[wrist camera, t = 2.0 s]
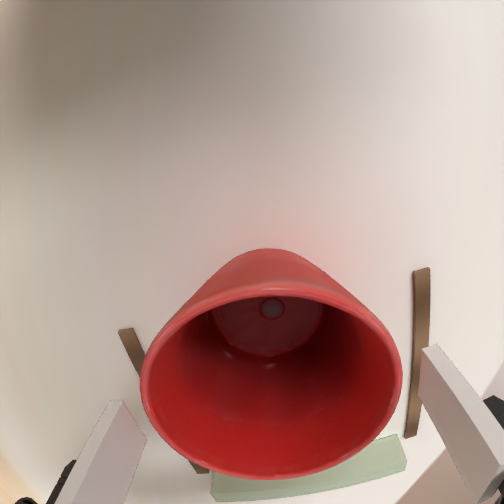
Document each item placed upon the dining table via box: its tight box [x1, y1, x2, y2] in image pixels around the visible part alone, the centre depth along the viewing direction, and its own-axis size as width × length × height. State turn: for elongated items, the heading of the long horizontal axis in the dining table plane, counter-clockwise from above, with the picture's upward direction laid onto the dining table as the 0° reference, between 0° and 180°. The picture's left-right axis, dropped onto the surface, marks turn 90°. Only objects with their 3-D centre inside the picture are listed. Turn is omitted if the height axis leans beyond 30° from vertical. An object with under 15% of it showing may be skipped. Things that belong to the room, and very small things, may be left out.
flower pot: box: [140, 249, 403, 480], centre depth 16 cm, size 11×11×10 cm
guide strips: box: [118, 268, 430, 474], centre depth 23 cm, size 18×22×1 cm
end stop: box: [210, 434, 407, 502], centre depth 24 cm, size 2×18×4 cm, turn 103°
